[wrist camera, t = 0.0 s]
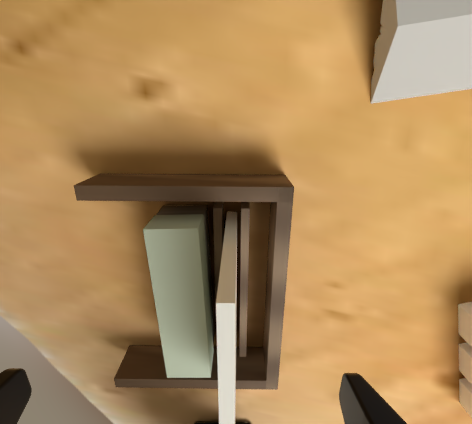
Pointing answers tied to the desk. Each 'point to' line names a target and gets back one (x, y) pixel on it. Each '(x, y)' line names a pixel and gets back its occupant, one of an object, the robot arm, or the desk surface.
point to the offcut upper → (181, 293)
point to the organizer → (465, 355)
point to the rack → (215, 190)
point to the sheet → (227, 322)
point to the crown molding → (422, 49)
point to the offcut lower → (204, 210)
